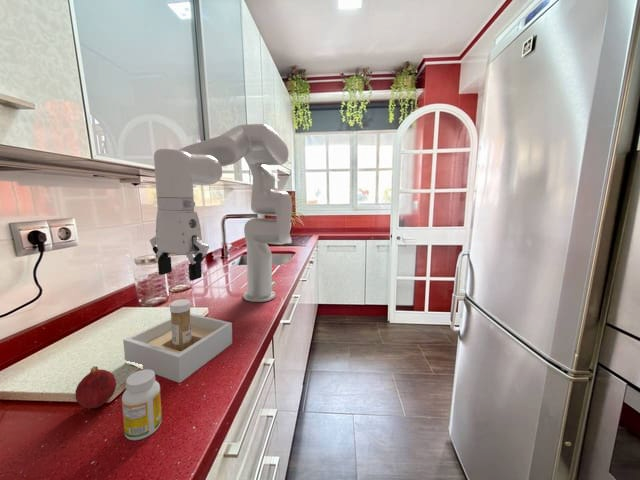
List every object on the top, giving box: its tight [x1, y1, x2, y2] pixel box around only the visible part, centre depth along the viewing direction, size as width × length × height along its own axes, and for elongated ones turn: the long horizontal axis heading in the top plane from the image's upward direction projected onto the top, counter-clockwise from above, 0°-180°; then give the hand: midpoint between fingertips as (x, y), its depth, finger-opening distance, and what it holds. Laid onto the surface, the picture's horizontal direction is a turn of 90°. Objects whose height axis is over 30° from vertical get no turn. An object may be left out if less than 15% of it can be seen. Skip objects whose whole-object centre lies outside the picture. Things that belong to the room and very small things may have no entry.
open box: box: [122, 312, 233, 384], centre depth 67 cm, size 17×17×6 cm
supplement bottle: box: [121, 369, 163, 441], centre depth 45 cm, size 5×5×10 cm
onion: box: [74, 365, 117, 409], centre depth 49 cm, size 6×6×8 cm
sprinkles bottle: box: [169, 298, 192, 351], centre depth 66 cm, size 5×5×13 cm
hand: (180, 276), depth 64 cm, fingers open, 9 cm apart
